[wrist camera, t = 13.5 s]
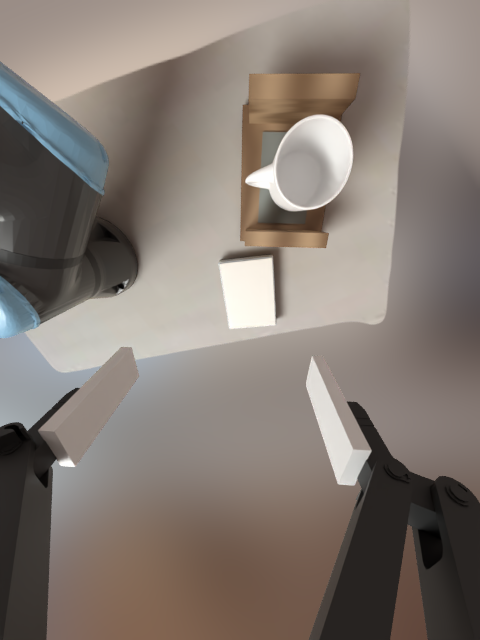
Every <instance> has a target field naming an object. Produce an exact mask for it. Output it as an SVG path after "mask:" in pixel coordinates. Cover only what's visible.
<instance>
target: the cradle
mask: <svg viewBox="0 0 480 640" xmlns="http://www.w3.org/2000/svg"><path fill="white" fill-rule="evenodd" d="M359 77H360V73H344V74H249V105H243V121H242V177H241V233H240V241H245V246H268V247H307V248H326V245H327V240H328V235H329V233H325V232H321V229H322V223H323V218H324V212H325V206H326V205H324V206H322V207H319V208H316V209H311V210H303V211H287V210H284V209H282V208H280V207H279V206H278V205H277V204H276V203H275V202H274V201H273V199H272V197H271V195H270V192H269V189H265V188H259V187H254V186H250V185H248V184H247V183H246V182H245V180H246V178H247V177H248V176H249V175H250V174H252V173H253V172H255V171H257V170H259V169H261V168H263V167H265V166H268V165H270V164H272V163H273V160H274V158H275V155H276V153H277V150H278V147H279V145H280V143H281V141H282V139H283V138H284V136H285V135H286V133H287V132H288V131H289V130H290V129H291V128H292V127H293V126H294V125H295V124H296V123H297V122H299V121H300V120H302V119H304V118H306V117H309V116H312V115H320V114H322V115H328V116H331V117H334V118H335V119H337V120H338V121H340V122H341V117H342V113H343V112H344V111H345V110H346V109H347V108H348V107H349V105H350V104H351V103H352V102H353V101H354V100H355V98H356V93H357V87H358V82H359Z"/></svg>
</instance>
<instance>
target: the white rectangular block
mask: <svg viewBox="0 0 480 640" xmlns="http://www.w3.org/2000/svg"><path fill="white" fill-rule="evenodd" d="M218 264H219V270H220V276H221V282H222V288H223V294H224V300H225V306H226V312H227V318H228V324H229V329H236V328H248V327H260V326H272V325H276V306H275V285H274V265H273V255H272V254H270V255H262V256H253V257H245V258H236V259H227V260H220V261H219V263H218Z"/></svg>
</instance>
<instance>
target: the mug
mask: <svg viewBox="0 0 480 640" xmlns="http://www.w3.org/2000/svg"><path fill="white" fill-rule="evenodd" d="M352 164H353V145H352V141H351V137H350V135H349V133H348V131H347V129H346V128H345V126H344V125H343V124H342V123H341V122H340V121H338V120H337V119H335V118H334V117H331V116H328V115H322V114H320V115H312V116H309V117H306V118H304V119H302V120H300V121H299V122H297V123H296V124H295V125H294V126H293V127H292V128H291V129H290V130H289V131H288V132H287V133H286V135H285V136H284V138H283V139H282V141H281V143H280V145H279V147H278V150H277V153H276V155H275V158H274V160H273V163H272V164H270V165H268V166H265V167H263V168H261V169H259V170H257V171H255V172H253V173H252V174H250V175H249V176H248V177H247V178H246V180H245V182H246V183H247V184H248V185H250V186H254V187H259V188H265V189H269V192H270V195H271V197H272V199H273V201H274V202H275V203H276V204H277V205H278V206H279V207H280V208H282V209H284V210H287V211H303V210H311V209H316V208H319V207H322V206H324V205H326V204H327V203H329V202H330V201H331V200H333V199H334V198H335V197H336V196H337V195H338V194H339V193H340V191H341V190H342V189H343V187H344V186H345V184H346V182H347V180H348V178H349V175H350V172H351V169H352Z"/></svg>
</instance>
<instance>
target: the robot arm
mask: <svg viewBox="0 0 480 640" xmlns="http://www.w3.org/2000/svg"><path fill="white" fill-rule="evenodd" d="M108 166H109V160H108V155H107V153H106V150H105V149H104V147H103V145H102V144H101V143H100V142H99V140H98V139H97V138H96V137H94V136H93V135H92V134H91V133H90V132H89V131H87V130H86V129H85V128H84V127H83V126H82V125H80V124H79V123H78V122H77V121H75V120H74V119H73V118H72V117H71V116H69V115H68V114H67V113H66V112H64V111H63V110H62V109H61V108H59V107H58V106H57V105H55V104H54V103H53V102H52V101H50V100H49V99H48V98H47V97H45V96H44V95H43V94H41V93H40V92H39V91H37V90H36V89H35V88H34V87H33V86H31V85H30V84H29V83H27V82H26V81H25V80H24V79H22V78H21V77H20V76H18V75H17V74H16V73H14V72H13V71H12V70H11V69H9V68H8V67H7V66H5V65H4V64H3V63H2V62H0V338H9V337H12V336H15V335H18V334H20V333H23V332H25V331H28V330H30V329H35V328H36V327H38V326H39V325H40V324H41V323H43V322H45V321H47V320H49V319H51V318H53V317H55V316H57V315H59V314H61V313H63V312H65V311H67V310H69V309H71V308H73V307H74V306H76V305H78V304H80V303H82V302H84V301H86V300H88V299H95V298H108V297H113V296H116V295H119V294H120V293H122V292H124V291H126V290H127V289H128V288H129V287H130V286H131V285H132V284H133V282H134V281H135V278H136V275H137V259H136V255H135V252H134V250H133V248H132V246H131V244H130V242H129V241H128V239H127V238H126V237H125V235H124V234H123V233H122V232H121V231H120V230H119V229H118V228H116V227H115V226H114V225H112V224H111V223H109V222H108V221H106V220H104V219H101V218H98V217H96V214H97V211H98V207H99V204H100V201H101V197H102V195H104V193H105V191H104V189H103V188H104V184H105V179H106V175H107V171H108ZM138 377H139V374H138V370H137V366H136V362H135V358H134V355H133V351H132V347H121V348H120V349H119V350H118V351H117V352H116V353H115V354H114V355H113V356H112V357H111V358H110V359H109V360H108V361H107V362H106V363H105V364H104V365H103V366H102V367H101V368H100V369H99V370H98V371H97V372H96V373H95V374H94V375H93V376H92V377H91V378H90V379H89V380H88V381H87V382H86V383H85V384H84V385H83V386H82V387H81V388H75V389H74V390H72V391H70V392H69V393H67V394H66V395H65V396H64V397H63V398H62V399H61V400H60V401H59V402H58V403H56V404H55V405H54V406H53V407H52V409H51V410H49V411H48V412H47V413H46V414H45V415H44V416H43V417H42V418H41V419H40V420H39V421H38V422H37V423H36V424H35V425H33V426H32V427H31V428H30V429H29V430H28V431H27V430H26V429H25V428H24V426H23V424H21V423H19V422H18V423H17V422H16V423H10V424H7V425H4V426H2V427H0V640H46V634H47V609H48V606H47V605H48V583H49V557H50V556H49V555H50V530H51V504H52V502H51V501H52V478H53V469H52V467H51V465H52V464H53V463H54V461H55V460H56V459H57V461H58V462H59V464H60V465H61V466H70V467H76V465H77V464H78V462H79V461H80V460H81V458H82V457H83V455H84V454H85V452H86V451H87V450H88V448H89V447H90V445H91V444H92V443H93V441H94V440H95V438H96V437H97V435H98V434H99V433H100V431H101V430H102V428H103V427H104V426H105V424H106V423H107V421H108V420H109V418H110V417H111V415H112V414H113V413H114V411H115V410H116V408H117V407H118V406H119V404H120V403H121V401H122V400H123V399H124V397H125V396H126V394H127V393H128V391H129V390H130V389H131V387H132V386H133V384H134V383H135V382H136V380H137V378H138ZM306 386H307V390H308V393H309V396H310V399H311V402H312V405H313V408H314V411H315V414H316V418H317V421H318V424H319V427H320V430H321V433H322V436H323V439H324V442H325V445H326V448H327V451H328V455H329V457H330V461H331V464H332V467H333V470H334V473H335V476H336V479H337V482H338V484H341V485H355V483H356V481H357V479H358V481H359V483H360V486H361V488H362V489H361V490H360V492H359V494H358V496H357V498H356V500H357V502H356V505H355V507H354V510H353V513H352V516H351V519H350V522H349V525H348V528H347V531H346V533H345V536H344V539H343V542H342V545H341V548H340V551H339V554H338V557H337V560H336V563H335V565H334V568H333V571H332V574H331V577H330V580H329V583H328V586H327V588H326V591H325V594H324V597H323V600H322V603H321V606H320V609H319V612H318V614H317V617H316V620H315V623H314V626H313V629H312V632H311V635H310V638H309V640H390V635H391V629H392V623H393V616H394V609H395V603H396V596H397V590H398V583H399V577H400V570H401V564H402V557H403V550H404V544H405V537H406V530H407V524H408V525H410V526H412V530H413V537H414V544H415V551H416V559H417V565H418V572H419V580H420V587H421V594H422V600H423V608H424V615H425V623H426V630H427V637H428V640H480V503H479V502H478V500H477V498H476V497H475V496H474V495H473V493H472V492H471V491H470V490H469V489H468V488H466V487H465V486H464V485H463V484H461V483H460V482H458V481H456V480H454V479H453V478H450V477H446V476H439V477H438V478H437V479H436V480H435V481H433V480H430V479H428V478H425V477H422V476H420V475H417V474H414V473H412V472H410V471H409V470H408V469H407V468H406V467H405V466H404V465H403V464H402V463H401V462H399V461H398V460H397V459H394V458H393V457H392V455H391V454H390V452H389V451H388V449H387V447H386V445H385V444H384V442H383V440H382V438H381V437H380V435H379V433H378V432H377V430H376V428H375V427H374V425H373V423H372V421H371V420H370V418H369V416H368V415H367V413H366V411H365V410H364V409H363V408H362V407H361V406H360V405H359V404H358V403H357V402H346V400H345V398H344V396H343V394H342V392H341V390H340V388H339V386H338V384H337V382H336V380H335V379H334V376H333V375H332V372H331V371H330V369H329V367H328V365H327V363H326V361H325V359H324V357H323V356H313V355H312V359H311V363H310V368H309V372H308V377H307V381H306Z"/></svg>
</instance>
